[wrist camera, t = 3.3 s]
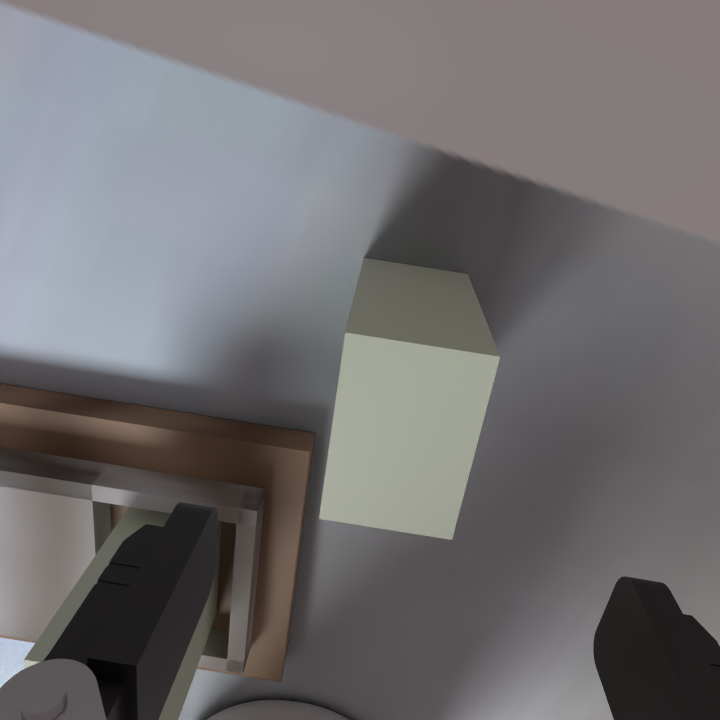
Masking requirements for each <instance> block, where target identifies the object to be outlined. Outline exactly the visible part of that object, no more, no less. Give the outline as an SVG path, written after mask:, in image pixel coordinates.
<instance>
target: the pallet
mask: <svg viewBox="0 0 720 720" xmlns="http://www.w3.org/2000/svg"><path fill="white" fill-rule="evenodd" d="M314 437H315V433H310V432H304V431H298V430H291V429H285V428H279V427H273V426H266V425H260V424H254V423H247V422H241V421H235V420H228V419H222V418H216V417H209V416H203V415H197V414H190V413H184V412H178V411H171V410H165V409H159V408H152V407H146V406H140V405H133V404H127V403H121V402H115V401H108V400H102V399H96V398H89V397H83V396H77V395H70V394H64V393H58V392H51V391H45V390H39V389H32V388H26V387H20V386H13V385H7V384H1V383H0V637H2V638H8V639H15V640H21V641H27V642H33V643H36V642H37V640H38V639H39V637H40V636H41V634H42V633H43V631H44V630H45V629H46V627H47V626H48V624H49V623H50V621H51V620H52V618H53V617H54V615H55V614H56V612H57V611H58V610H59V608H60V607H61V605H62V604H63V602H64V601H65V599H66V598H67V596H68V595H69V593H70V592H71V591H72V589H73V588H74V586H75V585H76V583H77V582H78V580H79V579H80V577H81V576H82V574H83V573H84V572H85V570H86V569H87V567H88V566H89V564H90V563H91V561H92V560H93V558H94V557H95V555H96V554H97V553H98V551H99V550H100V548H101V547H102V545H103V544H104V542H105V541H106V539H107V538H108V536H109V535H110V534H111V532H112V531H113V529H114V528H115V526H116V525H117V523H118V522H119V520H120V519H121V517H122V516H123V515H124V513H125V512H126V510H127V509H128V507H135V508H141V509H147V510H154V511H160V512H166V513H172V511H173V510H174V508H175V506H176V505H177V504H178V503H179V502H183V503H189V504H195V505H201V506H207V507H214V508H217V511H218V521H222V523H221V541H220V559H219V577H218V595H217V613H216V617H215V620H214V622H213V625H212V628H211V631H210V633H209V636H208V639H207V642H206V644H205V647H204V650H203V652H202V655H201V658H200V661H199V663H198V666H197V669H202V670H208V671H215V672H221V673H227V674H233V675H240V676H246V677H252V678H258V679H265V680H271V681H277V682H281V679H282V675H283V670H284V665H285V660H286V655H287V647H288V639H289V632H290V624H291V616H292V608H293V600H294V593H295V585H296V577H297V569H298V561H299V554H300V546H301V538H302V530H303V522H304V515H305V507H306V499H307V491H308V483H309V476H310V468H311V460H312V452H313V445H314Z"/></svg>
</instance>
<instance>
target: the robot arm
mask: <svg viewBox="0 0 720 720" xmlns="http://www.w3.org/2000/svg"><path fill="white" fill-rule="evenodd" d="M217 524H218V511H217V508H214V507H207V506H201V505H195V504H189V503H183V502H179V503H178V504H177V505H176V506H175V508H174V510H173V511H172V513H171V515H170V517H169V518H168V520H167V522H166V523H165V525H164V527H161V526H155V525H149V524H145V525H144V526H143V527H141V528H140V529H139V530H137V531H136V532H134V533H133V534H132V535H130V536H129V537H128V538H126V539H125V540H124V541H123V542H122V543H121V545H120V547H119V548H118V550H117V551H116V553H115V554H114V556H113V557H112V559H111V560H110V562H109V565H108V566H106V568H105V569H104V571H103V572H102V574H101V575H100V577H99V578H98V581H97V584H94V586H93V587H92V589H91V590H90V592H89V593H88V595H87V597H86V598H85V600H84V601H83V603H82V604H81V606H80V607H79V609H78V610H77V612H76V613H75V615H74V616H73V618H72V619H71V621H70V622H69V624H68V625H67V627H66V628H65V630H64V631H63V633H62V634H61V636H60V637H59V639H58V640H57V642H56V643H55V645H54V647H53V648H52V650H51V651H50V653H49V654H48V655H47V656H46V658H45V659H44V660H43V661H42V662H39V663H36V664H34V665H32V666H29V667H27V668H25V669H24V670H22V671H20V672H19V673H17V674H16V675H14V676H13V677H12V678H10V679H9V680H8V681H7V682H6V683H5V684H4V685H3V686H2V687H1V688H0V720H159V717H160V715H161V712H162V710H163V707H164V705H165V702H166V700H167V698H168V695H169V693H170V690H171V688H172V685H173V683H174V680H175V678H176V676H177V673H178V671H179V668H180V666H181V663H182V661H183V658H184V656H185V654H186V651H187V649H188V646H189V644H190V641H191V639H192V636H193V634H194V632H195V629H196V627H197V624H198V622H199V619H200V617H201V614H202V612H203V609H204V607H205V605H206V602H207V600H208V597H209V594H210V591H211V587H212V583H213V578H214V573H215V562H216V543H217ZM594 660H595V664H596V668H597V671H598V674H599V677H600V680H601V683H602V686H603V689H604V692H605V694H606V697H607V700H608V703H609V706H610V709H611V712H612V715H613V718H614V720H720V646H719V645H718V643H717V641H716V640H715V639H714V638H713V637H712V636H711V635H710V634H709V633H708V632H707V631H706V630H705V629H704V628H703V627H702V626H701V625H700V623H699V622H698V621H697V620H696V619H695V618H694V617H693V616H691V615H685V614H683V613H682V611H681V610H680V608H679V606H678V604H677V602H676V600H675V599H674V597H673V595H672V593H671V591H670V590H669V588H668V587H667V586H666V585H665V584H664V583H661V582H655V581H649V580H643V579H637V578H631V577H621V578H620V579H619V580H618V581H617V583H616V585H615V587H614V590H613V592H612V594H611V597H610V599H609V601H608V604H607V606H606V608H605V611H604V613H603V615H602V618H601V620H600V623H599V625H598V627H597V630H596V633H595V637H594Z"/></svg>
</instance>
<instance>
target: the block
mask: <svg viewBox="0 0 720 720" xmlns="http://www.w3.org/2000/svg"><path fill="white" fill-rule="evenodd" d="M170 515H171V513H166V512H160V511H154V510H147V509H141V508H135V507H128V509H127V510H126V512H125V513H124V515H123V516H122V517H121V519H120V520H119V522H118V523H117V525H116V526H115V528H114V529H113V531H112V532H111V534H110V535H109V536H108V538H107V539H106V541H105V542H104V544H103V545H102V547H101V548H100V550H99V551H98V553H97V554H96V555H95V557H94V558H93V560H92V561H91V563H90V564H89V566H88V567H87V569H86V570H85V572H84V573H83V574H82V576H81V577H80V579H79V580H78V582H77V583H76V585H75V586H74V588H73V589H72V591H71V592H70V593H69V595H68V596H67V598H66V599H65V601H64V602H63V604H62V605H61V607H60V608H59V610H58V611H57V612H56V614H55V615H54V617H53V618H52V620H51V621H50V623H49V624H48V626H47V627H46V629H45V630H44V631H43V633H42V634H41V636H40V637H39V639H38V640H37V642H36V643H35V645H34V646H33V648H32V649H31V650H30V652H29V653H28V655H27V656H26V658H25V659H24V662H25V668H27V667H29V666H32V665H34V664H36V663H39V662H42V661H43V660H44V659H45V658H46V656H47V655H48V654H49V653H50V651H51V650H52V648H53V647H54V645H55V643H56V642H57V640H58V639H59V637H60V636H61V634H62V633H63V631H64V630H65V628H66V627H67V625H68V624H69V622H70V621H71V619H72V618H73V616H74V615H75V613H76V612H77V610H78V609H79V607H80V606H81V604H82V603H83V601H84V600H85V598H86V597H87V595H88V593H89V592H90V590H91V589H92V587H93V586H94V584H97V581H98V578H99V577H100V575H101V574H102V572H103V571H104V569H105V568H106V566H108V565H109V562H110V560H111V559H112V557H113V556H114V554H115V553H116V551H117V550H118V548H119V547H120V545H121V543H122V542H123V541H124V540H125V539H126V538H128V537H129V536H130V535H132V534H133V533H134V532H136V531H137V530H139V529H140V528H141V527H143V526H144V525H145V524H149V525H155V526H161V527H164V525H165V523H166V522H167V520H168V518H169V517H170ZM221 523H222V521H218V524H217V543H216V562H215V573H214V578H213V583H212V587H211V591H210V594H209V597H208V600H207V602H206V605H205V607H204V609H203V612H202V614H201V617H200V619H199V622H198V624H197V627H196V629H195V632H194V634H193V636H192V639H191V641H190V644H189V646H188V649H187V651H186V654H185V656H184V658H183V661H182V663H181V666H180V668H179V671H178V673H177V676H176V678H175V680H174V683H173V685H172V688H171V690H170V693H169V695H168V698H167V700H166V702H165V705H164V707H163V710H162V712H161V715H160V717H159V720H178V718H179V715H180V713H181V710H182V707H183V704H184V702H185V699H186V696H187V693H188V691H189V688H190V685H191V683H192V680H193V677H194V674H195V672H196V669H197V666H198V663H199V661H200V658H201V655H202V652H203V650H204V647H205V644H206V642H207V639H208V636H209V633H210V631H211V628H212V625H213V622H214V620H215V617H216V613H217V595H218V577H219V559H220V541H221Z"/></svg>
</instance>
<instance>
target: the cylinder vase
mask: <svg viewBox="0 0 720 720" xmlns="http://www.w3.org/2000/svg"><path fill="white" fill-rule="evenodd" d="M207 720H349V719H347V718H346V717H344V716H342V715H340V714H338V713H335V712H333V711H331V710H328V709H325V708H322V707H319V706H316V705H312V704H308V703H303V702H297V701H288V700H260V701H252V702H247V703H242V704H239V705H235V706H232V707H229V708H227V709H224V710H222V711H220V712H218V713H216V714H215V715H213V716H211V717H210V718H208V719H207Z"/></svg>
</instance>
